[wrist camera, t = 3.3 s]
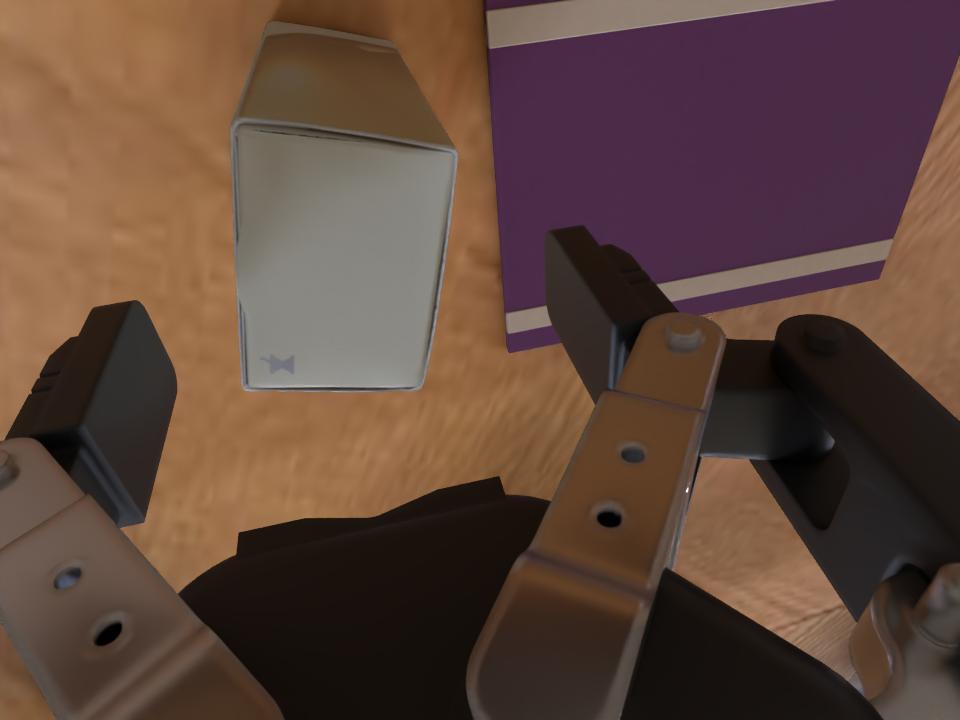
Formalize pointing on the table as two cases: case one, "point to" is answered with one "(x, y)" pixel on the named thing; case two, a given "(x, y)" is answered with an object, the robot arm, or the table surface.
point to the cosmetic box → (337, 215)
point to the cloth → (711, 139)
